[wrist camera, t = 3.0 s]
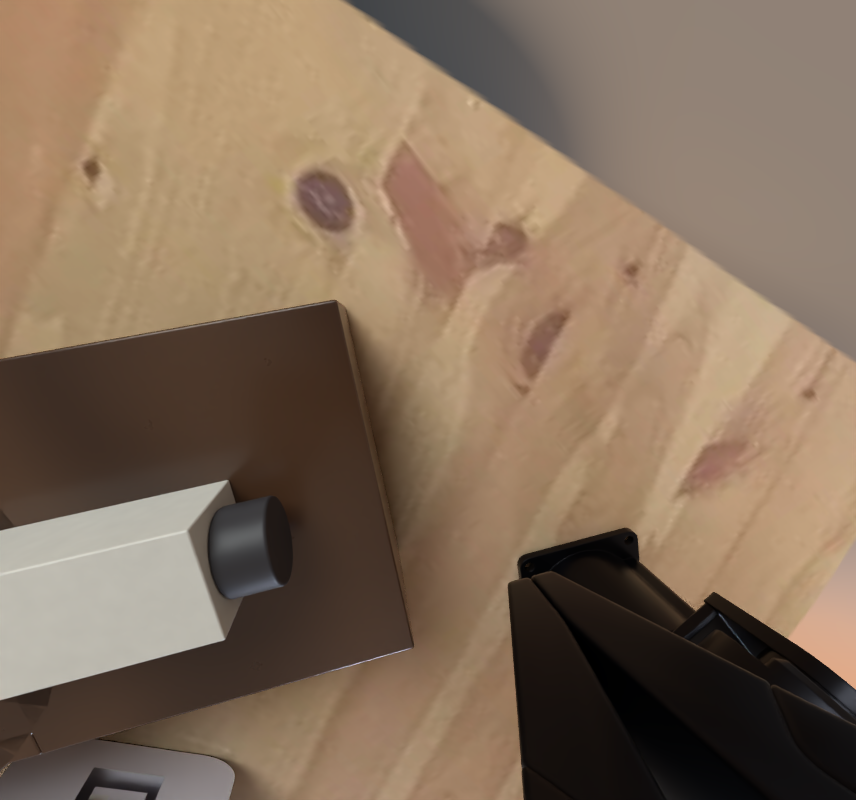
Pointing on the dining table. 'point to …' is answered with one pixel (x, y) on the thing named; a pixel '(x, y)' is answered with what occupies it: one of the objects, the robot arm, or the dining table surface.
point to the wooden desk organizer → (200, 465)
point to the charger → (116, 774)
